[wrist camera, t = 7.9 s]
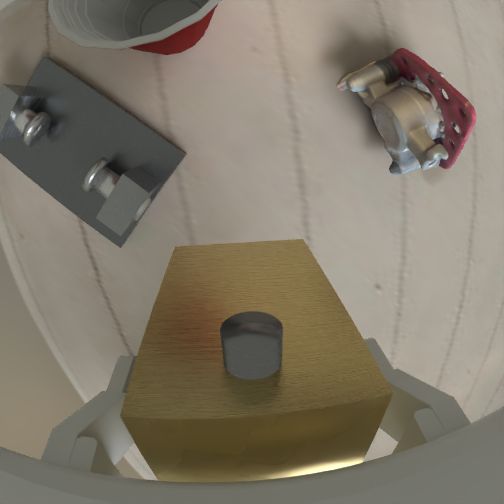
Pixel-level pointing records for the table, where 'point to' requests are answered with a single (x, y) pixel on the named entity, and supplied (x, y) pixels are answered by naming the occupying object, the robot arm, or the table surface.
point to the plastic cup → (133, 23)
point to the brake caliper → (413, 111)
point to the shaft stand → (84, 149)
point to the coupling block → (251, 369)
